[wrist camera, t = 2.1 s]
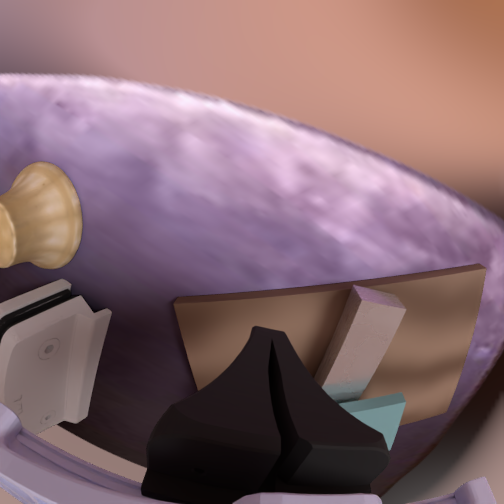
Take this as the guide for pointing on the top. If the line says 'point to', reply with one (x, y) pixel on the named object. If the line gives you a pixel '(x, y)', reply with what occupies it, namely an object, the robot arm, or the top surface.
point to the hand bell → (40, 218)
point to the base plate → (326, 320)
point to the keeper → (379, 413)
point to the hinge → (49, 355)
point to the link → (359, 343)
